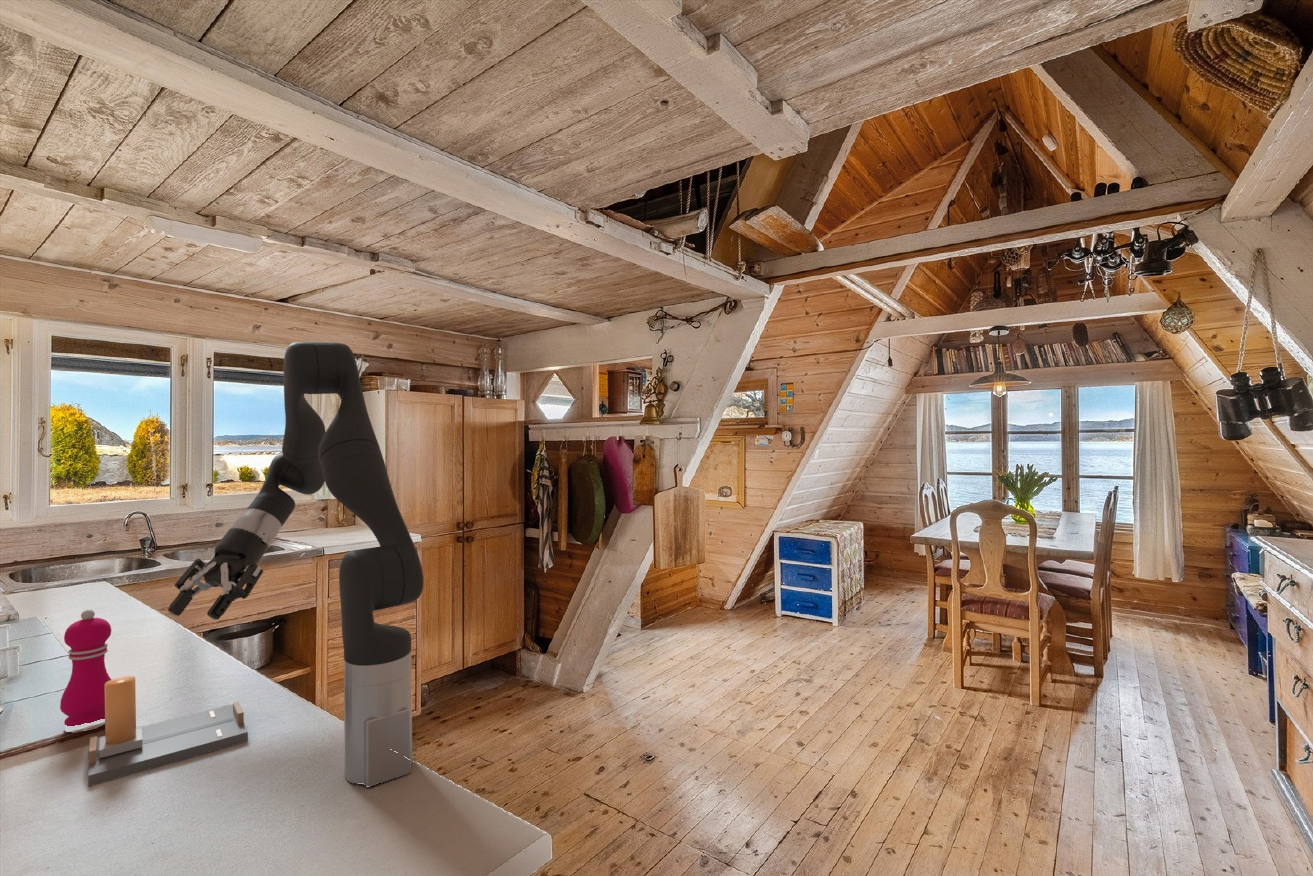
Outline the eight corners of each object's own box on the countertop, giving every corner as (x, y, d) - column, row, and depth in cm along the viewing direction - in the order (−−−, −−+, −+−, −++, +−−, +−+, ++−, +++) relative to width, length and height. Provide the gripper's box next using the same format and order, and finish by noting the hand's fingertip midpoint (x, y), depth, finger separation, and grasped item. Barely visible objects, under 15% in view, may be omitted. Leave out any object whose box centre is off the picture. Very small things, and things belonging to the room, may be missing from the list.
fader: (142, 747, 96) (141, 681, 95) (99, 758, 92) (98, 690, 92) (141, 735, 99) (140, 672, 99) (99, 745, 96) (98, 680, 96)
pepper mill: (82, 737, 102) (81, 617, 102) (48, 733, 104) (46, 614, 104) (128, 717, 110) (126, 605, 109) (95, 713, 111) (94, 602, 111)
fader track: (247, 741, 101) (247, 721, 101) (88, 786, 88) (88, 763, 88) (235, 712, 111) (234, 693, 111) (91, 748, 99) (90, 728, 99)
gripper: (206, 525, 117) (144, 601, 106) (268, 528, 114) (210, 607, 103) (231, 547, 122) (175, 622, 111) (291, 551, 119) (239, 629, 108)
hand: (192, 615), depth 107 cm, fingers open, 8 cm apart
